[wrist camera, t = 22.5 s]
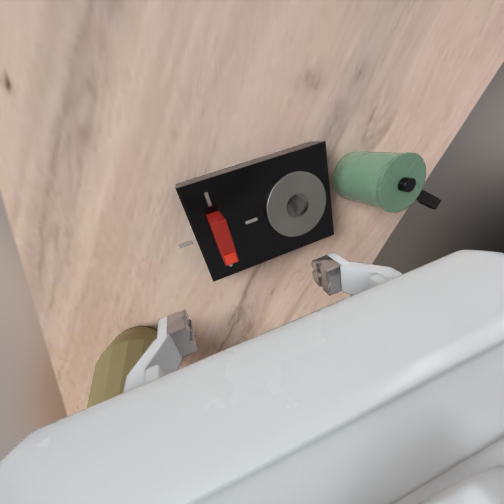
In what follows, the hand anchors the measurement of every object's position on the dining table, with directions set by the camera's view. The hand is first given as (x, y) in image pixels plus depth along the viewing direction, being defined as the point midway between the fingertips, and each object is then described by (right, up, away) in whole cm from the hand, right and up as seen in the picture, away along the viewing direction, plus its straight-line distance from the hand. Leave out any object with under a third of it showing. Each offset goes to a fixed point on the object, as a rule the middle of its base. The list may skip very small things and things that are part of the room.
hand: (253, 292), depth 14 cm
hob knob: (-4, +5, +11) cm, 12 cm away
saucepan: (+15, +12, +17) cm, 26 cm away
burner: (+5, +8, +12) cm, 15 cm away
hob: (+1, +8, +14) cm, 16 cm away
